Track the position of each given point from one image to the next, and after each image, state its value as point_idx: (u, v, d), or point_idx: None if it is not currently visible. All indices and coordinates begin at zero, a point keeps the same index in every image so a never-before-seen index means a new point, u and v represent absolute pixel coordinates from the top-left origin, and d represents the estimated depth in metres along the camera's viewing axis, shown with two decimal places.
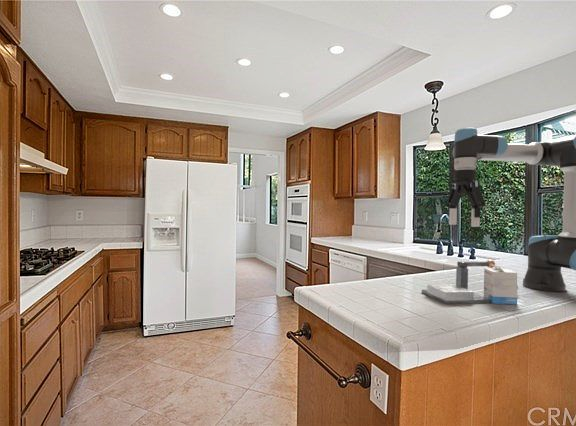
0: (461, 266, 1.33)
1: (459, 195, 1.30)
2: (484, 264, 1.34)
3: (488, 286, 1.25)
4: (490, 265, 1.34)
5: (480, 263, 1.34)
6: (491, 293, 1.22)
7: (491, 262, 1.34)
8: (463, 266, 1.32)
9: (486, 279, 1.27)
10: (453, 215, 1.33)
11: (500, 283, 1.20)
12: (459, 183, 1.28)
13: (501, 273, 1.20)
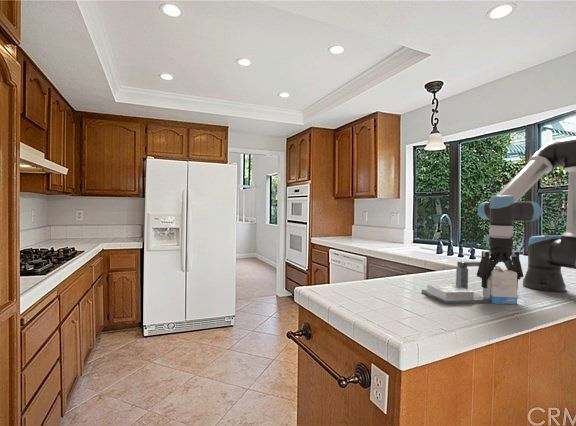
0: (461, 266, 1.33)
1: (506, 263, 1.24)
2: None
3: None
4: None
5: None
6: (491, 293, 1.22)
7: None
8: (463, 266, 1.32)
9: None
10: None
11: (500, 283, 1.20)
12: None
13: (501, 273, 1.20)
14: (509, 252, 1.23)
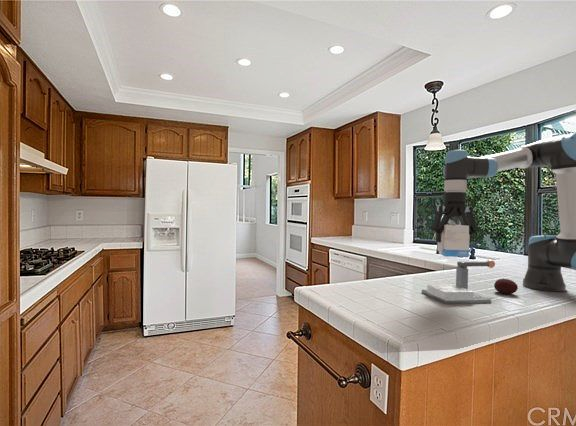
0: (461, 266, 1.33)
1: (460, 218, 1.25)
2: (484, 264, 1.34)
3: None
4: (490, 265, 1.34)
5: (480, 263, 1.34)
6: (444, 247, 1.23)
7: (491, 262, 1.34)
8: (463, 266, 1.32)
9: None
10: None
11: (452, 236, 1.21)
12: None
13: (453, 226, 1.21)
14: (463, 207, 1.24)
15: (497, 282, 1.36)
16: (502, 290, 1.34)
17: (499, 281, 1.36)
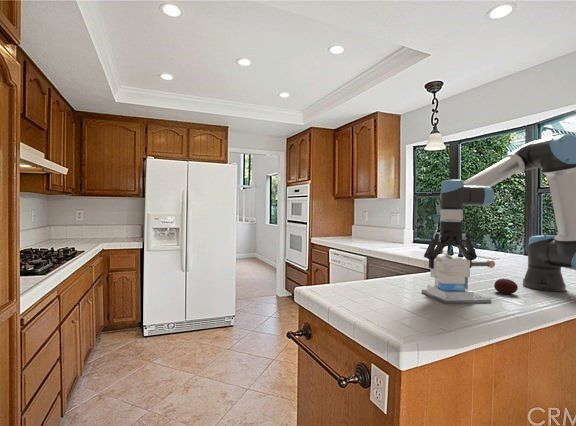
0: None
1: (458, 246, 1.26)
2: (484, 264, 1.34)
3: (438, 273, 1.26)
4: (490, 265, 1.34)
5: (480, 263, 1.34)
6: (441, 280, 1.23)
7: (491, 262, 1.34)
8: None
9: None
10: (465, 266, 1.27)
11: (448, 270, 1.22)
12: None
13: (450, 260, 1.22)
14: (459, 236, 1.25)
15: (497, 282, 1.36)
16: (502, 290, 1.34)
17: (499, 281, 1.36)
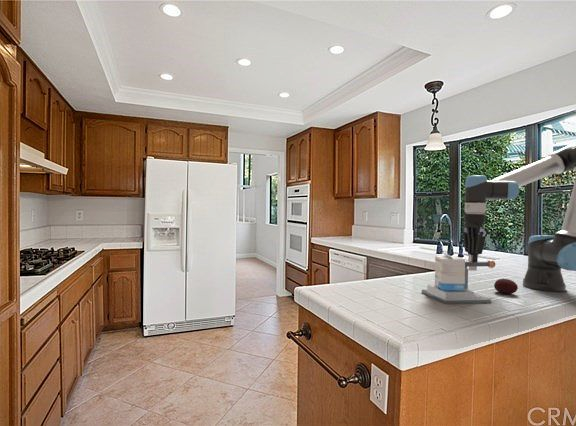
0: None
1: None
2: (484, 264, 1.34)
3: (438, 273, 1.26)
4: (490, 265, 1.34)
5: (480, 263, 1.34)
6: (441, 280, 1.23)
7: (491, 262, 1.34)
8: None
9: (436, 267, 1.28)
10: None
11: (448, 270, 1.22)
12: (468, 223, 1.39)
13: (450, 260, 1.22)
14: None
15: (497, 282, 1.36)
16: (502, 290, 1.34)
17: (499, 281, 1.36)
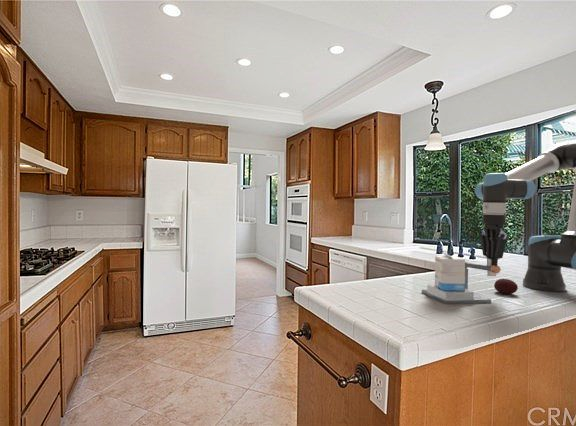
0: None
1: None
2: (485, 268, 1.26)
3: (438, 273, 1.26)
4: (491, 270, 1.24)
5: (480, 266, 1.27)
6: (441, 280, 1.23)
7: (492, 267, 1.23)
8: None
9: (436, 267, 1.28)
10: None
11: (448, 270, 1.22)
12: (486, 224, 1.28)
13: (450, 260, 1.22)
14: None
15: (497, 282, 1.36)
16: (502, 290, 1.34)
17: (499, 281, 1.36)
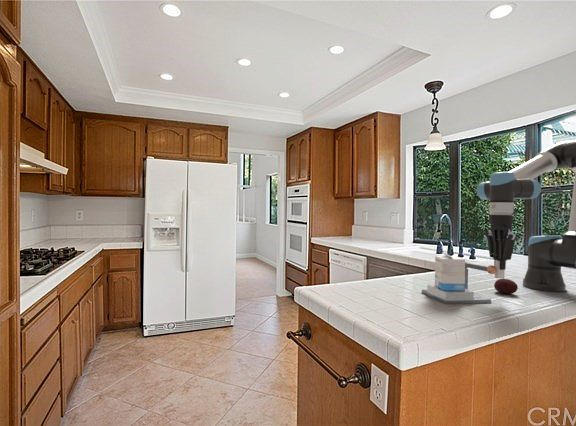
0: None
1: None
2: (481, 268, 1.25)
3: (438, 273, 1.26)
4: (487, 270, 1.23)
5: (477, 266, 1.27)
6: (441, 280, 1.23)
7: (488, 267, 1.22)
8: None
9: (436, 267, 1.28)
10: None
11: (448, 270, 1.22)
12: (493, 225, 1.25)
13: (450, 260, 1.22)
14: None
15: (497, 282, 1.36)
16: (502, 290, 1.34)
17: (499, 281, 1.36)
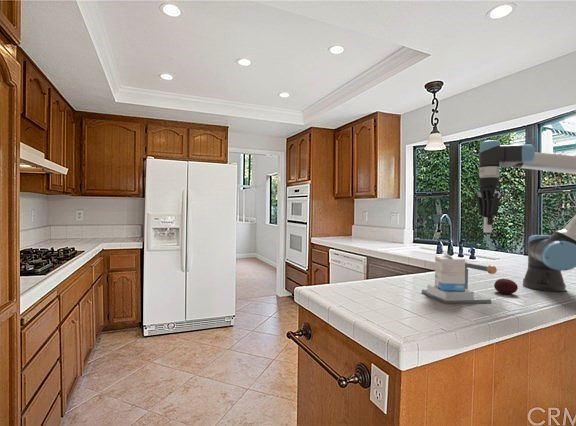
0: None
1: None
2: (481, 268, 1.25)
3: (438, 273, 1.26)
4: (487, 270, 1.23)
5: (477, 266, 1.27)
6: (441, 280, 1.23)
7: (488, 267, 1.22)
8: None
9: (436, 267, 1.28)
10: None
11: (448, 270, 1.22)
12: (482, 187, 1.45)
13: (450, 260, 1.22)
14: None
15: (497, 282, 1.36)
16: (502, 290, 1.34)
17: (499, 281, 1.36)
